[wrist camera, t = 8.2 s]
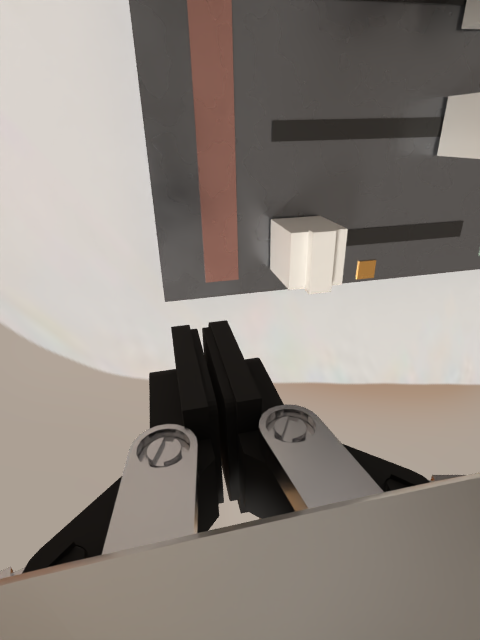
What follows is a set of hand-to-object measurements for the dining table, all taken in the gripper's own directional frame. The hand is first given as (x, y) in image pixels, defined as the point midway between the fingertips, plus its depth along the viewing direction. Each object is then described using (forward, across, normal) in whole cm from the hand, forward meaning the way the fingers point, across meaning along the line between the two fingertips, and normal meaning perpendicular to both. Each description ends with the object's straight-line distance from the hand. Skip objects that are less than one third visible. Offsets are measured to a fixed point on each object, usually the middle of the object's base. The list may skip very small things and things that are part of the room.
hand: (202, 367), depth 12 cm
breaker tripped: (+11, -7, 0) cm, 13 cm away
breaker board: (+13, -12, -7) cm, 19 cm away
